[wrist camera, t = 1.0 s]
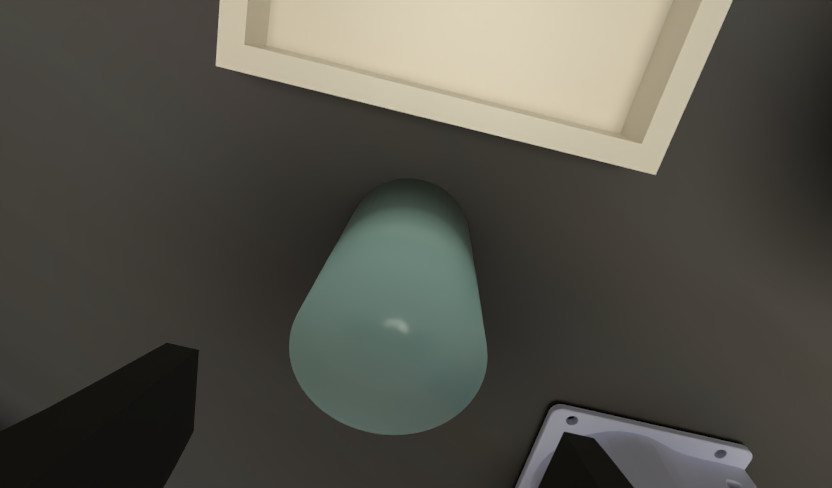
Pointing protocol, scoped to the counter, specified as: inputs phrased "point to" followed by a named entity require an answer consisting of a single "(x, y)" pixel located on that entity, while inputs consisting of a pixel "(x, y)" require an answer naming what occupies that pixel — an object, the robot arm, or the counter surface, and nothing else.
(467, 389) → the pale teal cylinder
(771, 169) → the counter surface
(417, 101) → the cream tray
